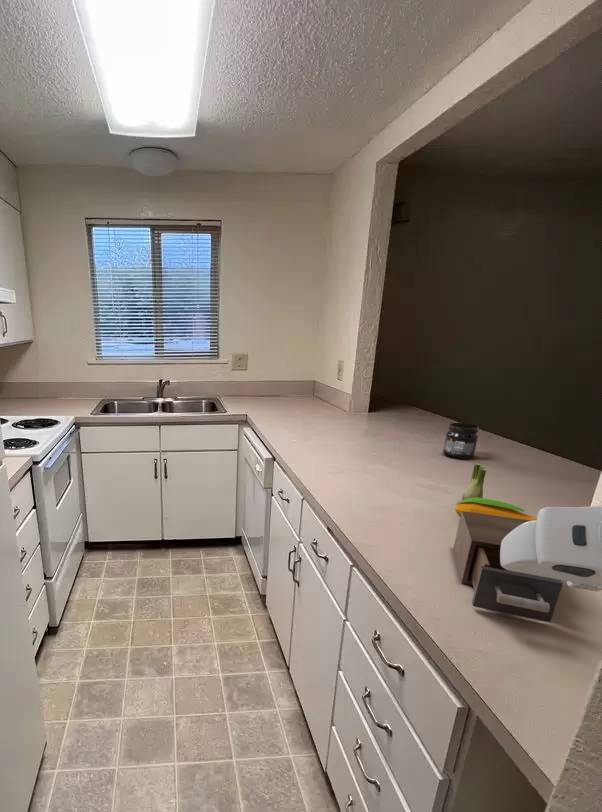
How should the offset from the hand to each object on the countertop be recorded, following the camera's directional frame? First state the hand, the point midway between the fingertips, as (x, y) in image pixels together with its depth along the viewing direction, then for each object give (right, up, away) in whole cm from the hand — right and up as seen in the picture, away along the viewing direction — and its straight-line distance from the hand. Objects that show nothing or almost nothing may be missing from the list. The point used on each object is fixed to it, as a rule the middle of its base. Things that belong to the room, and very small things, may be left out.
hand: (581, 582), depth 54 cm
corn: (+28, 0, +56) cm, 62 cm away
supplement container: (+53, +21, +113) cm, 126 cm away
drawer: (+10, -10, +27) cm, 30 cm away
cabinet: (+14, -7, +38) cm, 41 cm away
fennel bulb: (+30, +5, +70) cm, 77 cm away
